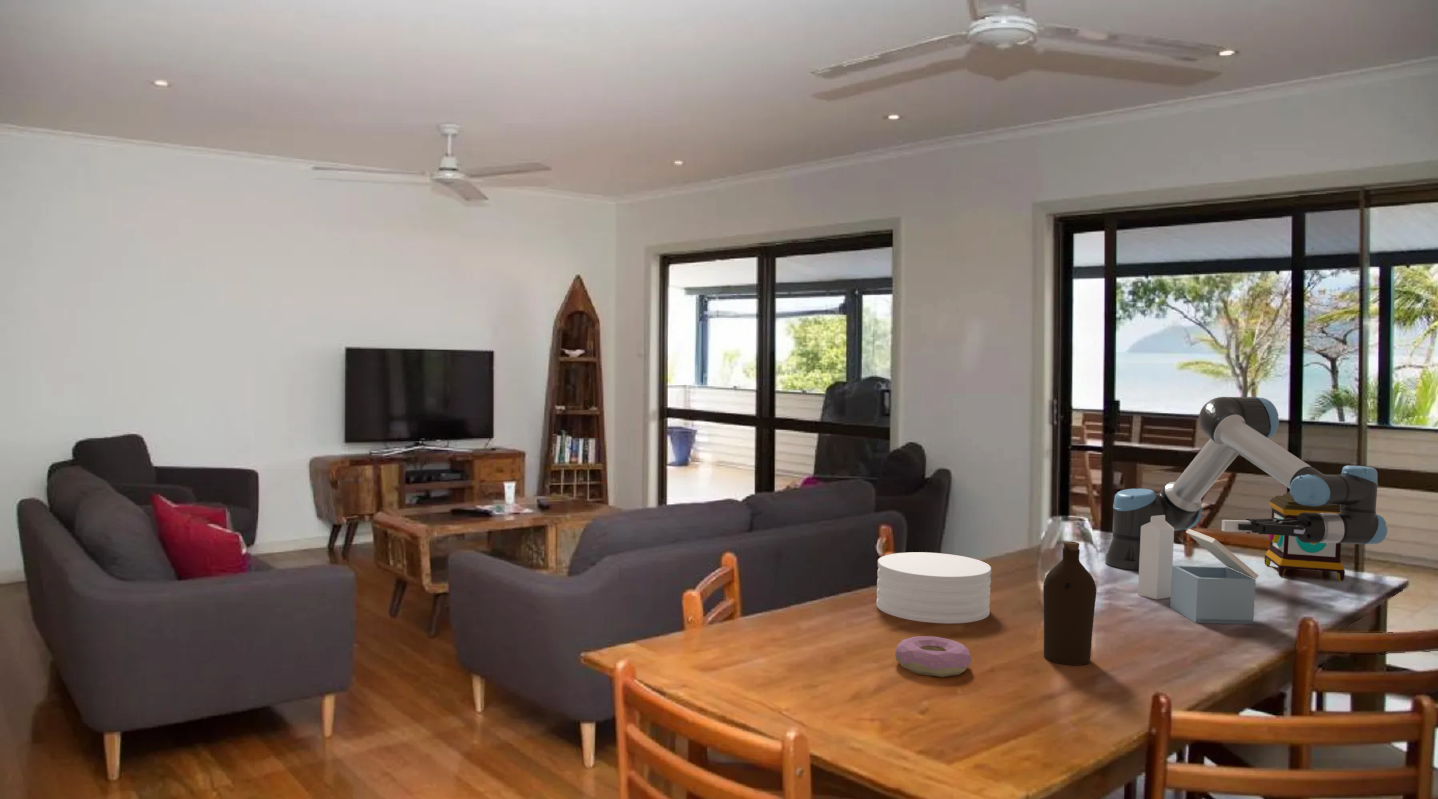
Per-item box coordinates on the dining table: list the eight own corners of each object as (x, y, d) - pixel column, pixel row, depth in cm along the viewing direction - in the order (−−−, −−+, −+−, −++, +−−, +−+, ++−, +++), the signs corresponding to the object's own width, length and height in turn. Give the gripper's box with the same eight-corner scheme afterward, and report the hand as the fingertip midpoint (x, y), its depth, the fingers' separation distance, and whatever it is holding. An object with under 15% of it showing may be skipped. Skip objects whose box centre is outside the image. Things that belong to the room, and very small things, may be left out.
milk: (1137, 595, 268) (1140, 514, 267) (1152, 592, 271) (1155, 513, 270) (1157, 600, 263) (1160, 518, 262) (1171, 597, 266) (1175, 516, 265)
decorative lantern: (1329, 569, 307) (1334, 473, 305) (1351, 583, 288) (1357, 481, 286) (1258, 564, 312) (1262, 469, 311) (1275, 577, 293) (1280, 477, 291)
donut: (879, 666, 203) (880, 642, 203) (921, 651, 214) (922, 629, 214) (944, 685, 192) (945, 660, 192) (985, 669, 203) (986, 645, 203)
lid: (1226, 566, 254) (1229, 563, 254) (1255, 579, 240) (1258, 575, 240) (1185, 532, 254) (1188, 528, 254) (1212, 542, 240) (1215, 539, 240)
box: (1224, 609, 255) (1226, 566, 254) (1253, 624, 241) (1255, 579, 240) (1170, 607, 255) (1172, 565, 255) (1195, 622, 241) (1197, 578, 241)
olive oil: (1102, 666, 206) (1107, 547, 205) (1053, 667, 205) (1058, 547, 203) (1079, 650, 216) (1083, 537, 215) (1032, 651, 215) (1036, 537, 214)
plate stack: (861, 613, 244) (862, 567, 244) (895, 589, 269) (897, 548, 268) (974, 630, 231) (976, 582, 231) (1000, 604, 256) (1001, 560, 255)
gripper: (1333, 548, 240) (1235, 545, 240) (1301, 537, 253) (1209, 535, 253) (1334, 517, 240) (1237, 515, 240) (1303, 508, 253) (1211, 506, 253)
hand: (1223, 525), depth 247 cm, fingers closed
